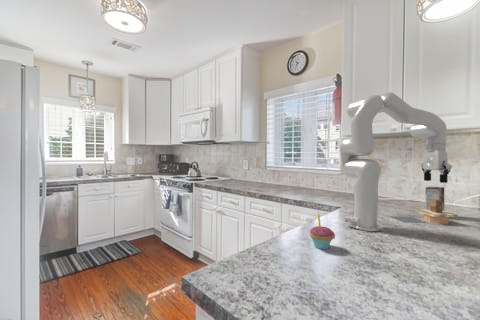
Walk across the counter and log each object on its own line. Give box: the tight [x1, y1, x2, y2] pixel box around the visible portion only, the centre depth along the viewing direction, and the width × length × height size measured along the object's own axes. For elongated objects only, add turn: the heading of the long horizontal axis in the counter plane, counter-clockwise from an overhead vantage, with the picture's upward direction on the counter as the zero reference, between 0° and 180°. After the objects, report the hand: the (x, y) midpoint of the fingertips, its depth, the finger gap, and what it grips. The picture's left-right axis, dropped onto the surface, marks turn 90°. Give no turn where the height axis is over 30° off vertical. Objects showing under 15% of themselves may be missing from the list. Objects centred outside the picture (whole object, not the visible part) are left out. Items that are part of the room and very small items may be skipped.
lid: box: [416, 199, 459, 218], centre depth 113 cm, size 11×11×7 cm
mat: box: [388, 215, 429, 224], centre depth 117 cm, size 12×12×1 cm
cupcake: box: [309, 212, 336, 250], centre depth 80 cm, size 9×8×12 cm
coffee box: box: [425, 186, 445, 211], centre depth 126 cm, size 9×6×16 cm
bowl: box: [423, 214, 450, 225], centre depth 114 cm, size 9×9×4 cm
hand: (435, 181), depth 114 cm, fingers open, 9 cm apart
